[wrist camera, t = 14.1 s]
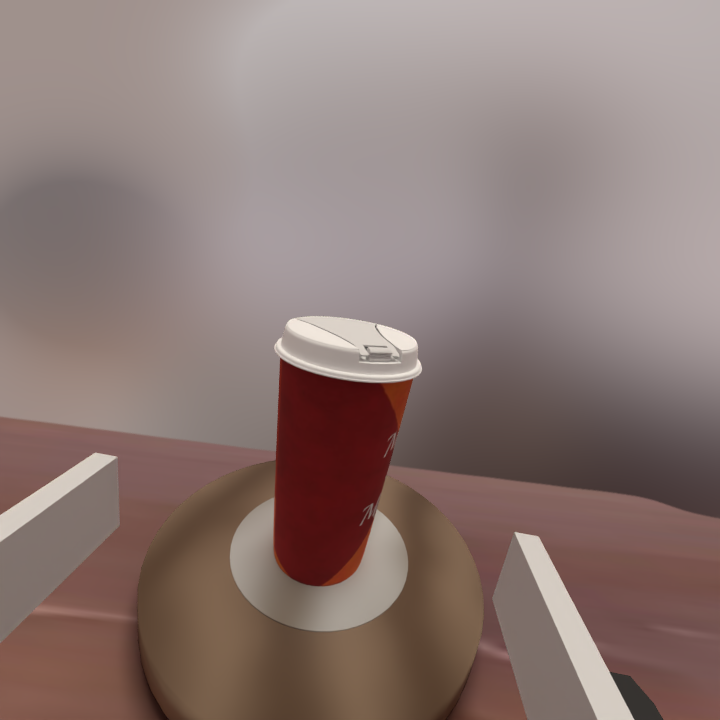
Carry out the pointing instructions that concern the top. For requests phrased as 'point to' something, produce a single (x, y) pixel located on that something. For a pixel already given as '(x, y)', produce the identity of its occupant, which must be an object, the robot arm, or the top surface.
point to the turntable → (305, 614)
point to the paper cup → (335, 439)
